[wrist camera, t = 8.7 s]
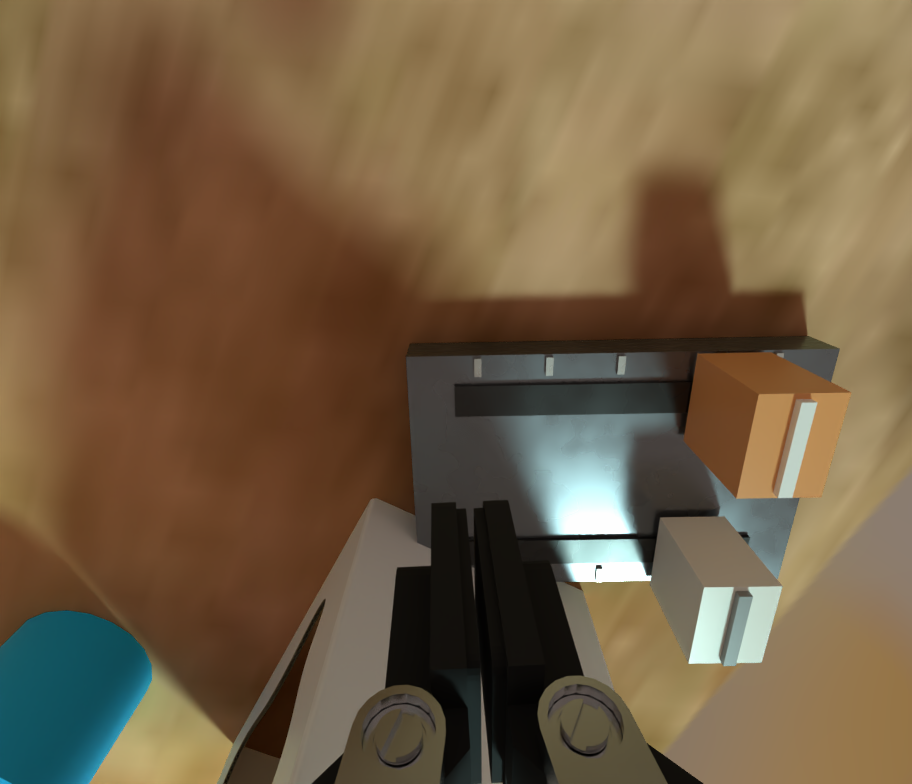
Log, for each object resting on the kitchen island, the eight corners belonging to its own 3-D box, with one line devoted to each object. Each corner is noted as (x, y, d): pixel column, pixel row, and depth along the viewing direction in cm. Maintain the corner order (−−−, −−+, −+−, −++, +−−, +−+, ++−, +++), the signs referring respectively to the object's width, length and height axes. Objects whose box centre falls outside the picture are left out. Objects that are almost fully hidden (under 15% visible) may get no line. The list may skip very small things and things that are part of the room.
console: (410, 343, 23) (405, 358, 21) (808, 336, 23) (843, 350, 21) (421, 557, 27) (419, 586, 25) (755, 552, 27) (780, 581, 25)
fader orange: (697, 353, 21) (763, 397, 16) (771, 352, 21) (858, 396, 16) (683, 440, 22) (740, 503, 18) (751, 439, 22) (826, 502, 18)
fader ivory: (659, 517, 24) (708, 593, 19) (724, 516, 23) (787, 592, 19) (649, 584, 25) (691, 669, 20) (710, 584, 25) (765, 668, 20)
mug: (44, 587, 28) (-109, 731, 21) (176, 653, 30) (81, 809, 22) (-29, 704, 32) (-183, 865, 24) (94, 757, 33) (-13, 923, 26)
